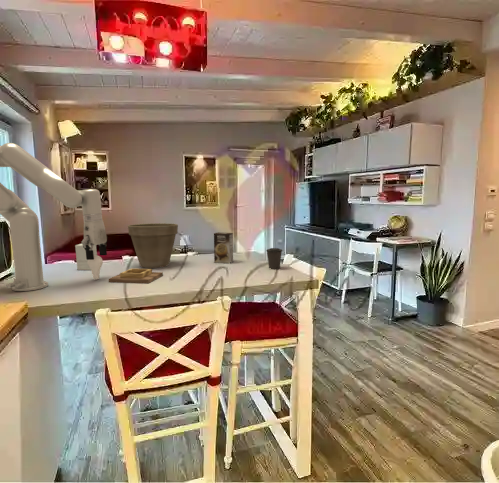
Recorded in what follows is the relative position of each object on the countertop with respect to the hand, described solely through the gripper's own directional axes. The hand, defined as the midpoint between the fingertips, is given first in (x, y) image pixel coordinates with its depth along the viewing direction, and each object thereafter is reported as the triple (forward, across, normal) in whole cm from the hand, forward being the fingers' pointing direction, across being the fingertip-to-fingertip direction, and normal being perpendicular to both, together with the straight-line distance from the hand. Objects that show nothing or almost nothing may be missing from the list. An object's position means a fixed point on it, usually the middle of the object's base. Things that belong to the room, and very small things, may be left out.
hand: (97, 257), depth 157 cm
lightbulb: (+10, -1, +1) cm, 10 cm away
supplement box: (+10, +21, +20) cm, 31 cm away
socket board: (+10, +3, -16) cm, 19 cm away
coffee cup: (+13, +33, -74) cm, 82 cm away
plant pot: (+11, +33, -11) cm, 37 cm away
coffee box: (+12, +46, -45) cm, 66 cm away
